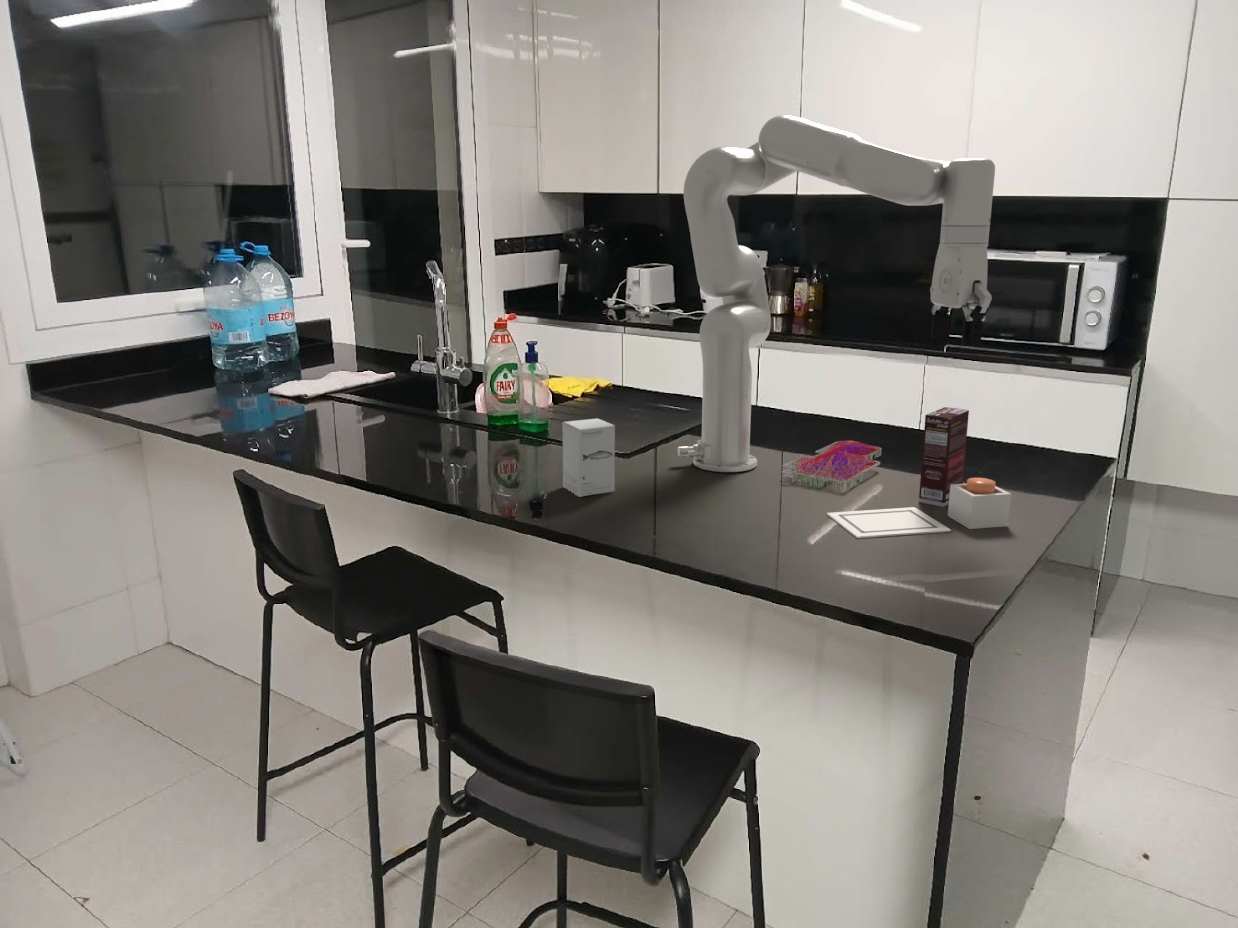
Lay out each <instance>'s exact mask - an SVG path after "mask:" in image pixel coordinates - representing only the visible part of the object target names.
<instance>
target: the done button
mask: <svg viewBox="0 0 1238 928" xmlns="http://www.w3.org/2000/svg"><path fill="white" fill-rule="evenodd" d="M966 483H967V485H966V490H967V491H969V492H971V493H972V494H974V495H977V494H993V493H995V486H996V483H997V482H996V481H995V480H994V479H989V478H986V477H970V478H967V479H966Z"/></svg>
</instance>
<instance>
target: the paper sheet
mask: <svg viewBox="0 0 1238 928" xmlns="http://www.w3.org/2000/svg"><path fill="white" fill-rule="evenodd" d="M826 515H827V516H828V517H829V518H831V519H832V520H833V521H834V522H835V523H837V524H838V525H839V526H841V528H843V529H845V530H846V531H847V532H848V533H850V534H851V535H852V536H853V537H854V538H856V539H867V538H881V537H895V536H896V537H897V536H908V535H909V536H910V535H911V536H912V535H922V534H923V535H924V534H925V535H926V534H938V533H939V534H940V533H951V532H952V529H950V528H949V527H947V526H946V525H944V524H942V523H941V522H939V521H937V520H936V519H935V518H932V516H930V515H928V514H926V513H925V512H923V511H922V510H920V509H918V508H916V507H914V506H913V507H912V506H911V507H909V506H908V507H897V508H896V507H895V508H883V509H882V508H880V509H867V510H866V509H865V510H851V511H850V510H849V511H838V512H837V511H836V512H826Z"/></svg>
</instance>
